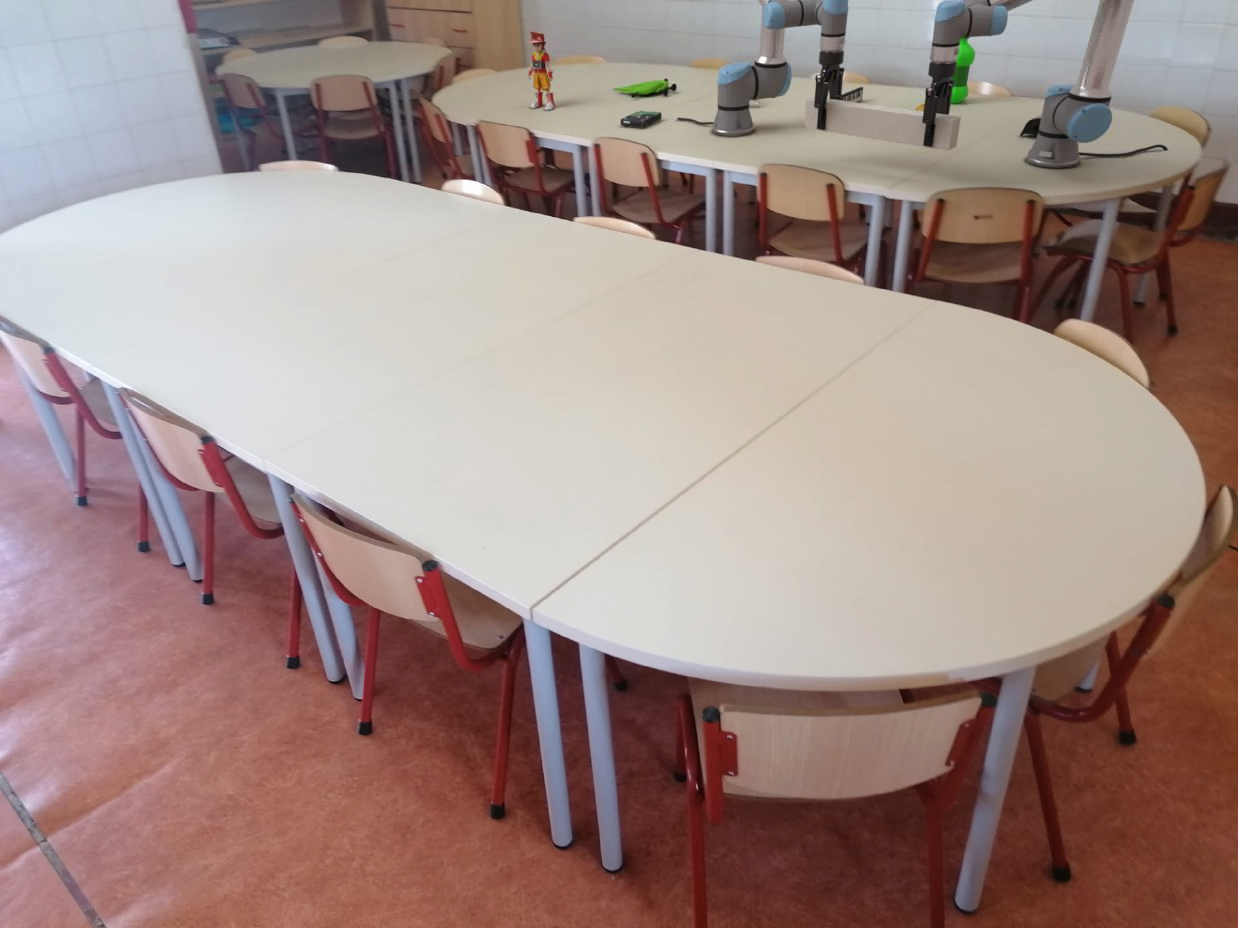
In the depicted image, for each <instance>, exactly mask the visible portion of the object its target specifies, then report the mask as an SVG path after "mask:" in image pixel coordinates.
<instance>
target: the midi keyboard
mask: <svg viewBox="0 0 1238 928" xmlns="http://www.w3.org/2000/svg"><path fill="white" fill-rule="evenodd" d="M863 95H864V86H860V87H857V88H855V89H851V90H850V91H847V92H845V93H842V95H841V101H849V102H856V103H859V102H860V101H863Z"/></svg>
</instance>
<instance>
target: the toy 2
mask: <svg viewBox="0 0 1238 928" xmlns="http://www.w3.org/2000/svg"><path fill="white" fill-rule="evenodd" d="M669 85H670V83H669V79H668V78H664V79H663V80H649V81H644V82H640V83H634V84H629V85H627V86H621V87H613V88H612V89H613V90H616V91H619V92H623V93H627V94H628V93H629V94H631V95H630V96H631V98H632V99H634V98H636V96H637V95H650V94H652V93H654V94H658V93H662V95H663V96H665V97H667V96H668V95H669V90H671V91H672V92H676V91H677V84H676V83H672V84H671V86H669Z"/></svg>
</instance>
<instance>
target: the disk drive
mask: <svg viewBox="0 0 1238 928" xmlns="http://www.w3.org/2000/svg"><path fill="white" fill-rule="evenodd" d="M661 119H663V118H662V112H659V111H652V110H651V111H645V110H638V111H636V112H633V113H631V114H629V115H627V116H624V117H622V118H620V126H622V127H628V128H629V127H630V128H640V129H644V128H645V127H648V126H650V125H652V124H654V123H656V122H658V121H660V120H661Z"/></svg>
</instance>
